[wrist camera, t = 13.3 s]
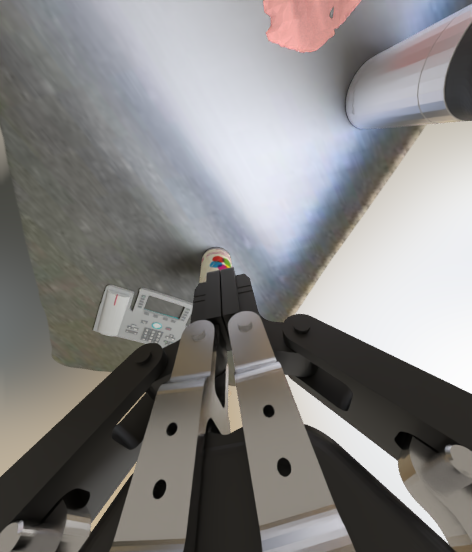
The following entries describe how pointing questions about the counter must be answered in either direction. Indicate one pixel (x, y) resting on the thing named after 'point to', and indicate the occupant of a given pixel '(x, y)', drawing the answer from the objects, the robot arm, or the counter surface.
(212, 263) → the aerosol can
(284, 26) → the cloth
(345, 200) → the counter surface
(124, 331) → the office telephone
